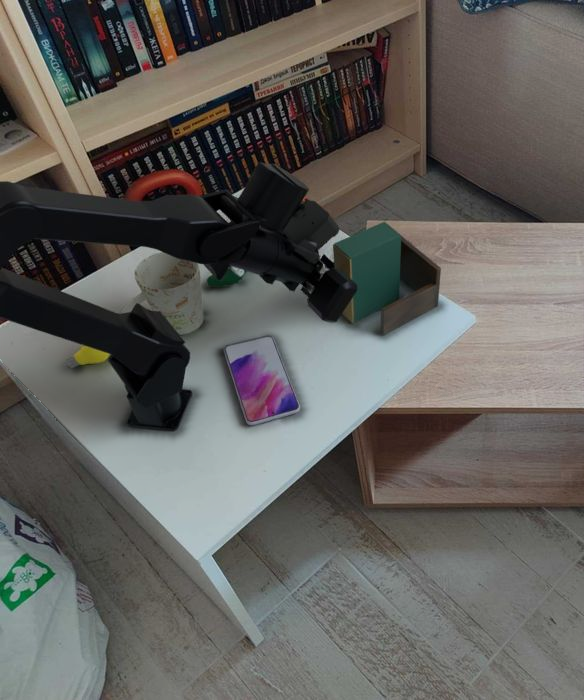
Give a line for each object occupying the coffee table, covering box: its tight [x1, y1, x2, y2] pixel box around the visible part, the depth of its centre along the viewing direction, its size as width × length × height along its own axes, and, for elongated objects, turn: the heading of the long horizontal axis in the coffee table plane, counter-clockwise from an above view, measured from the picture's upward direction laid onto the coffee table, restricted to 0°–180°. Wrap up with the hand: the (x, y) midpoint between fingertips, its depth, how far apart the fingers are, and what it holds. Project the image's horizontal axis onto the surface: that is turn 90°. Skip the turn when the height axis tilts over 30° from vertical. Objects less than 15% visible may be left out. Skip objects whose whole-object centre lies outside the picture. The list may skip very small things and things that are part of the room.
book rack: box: [332, 235, 442, 336], centre depth 105 cm, size 11×14×8 cm
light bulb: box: [65, 345, 110, 369], centre depth 92 cm, size 3×6×4 cm
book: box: [332, 221, 402, 325], centre depth 101 cm, size 9×4×13 cm, turn 132°
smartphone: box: [223, 334, 301, 426], centre depth 93 cm, size 7×1×15 cm
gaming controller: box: [206, 266, 248, 288], centre depth 107 cm, size 9×4×6 cm
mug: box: [121, 251, 205, 336], centre depth 95 cm, size 8×13×10 cm, turn 146°
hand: (341, 280), depth 98 cm, fingers closed, pressing on book
